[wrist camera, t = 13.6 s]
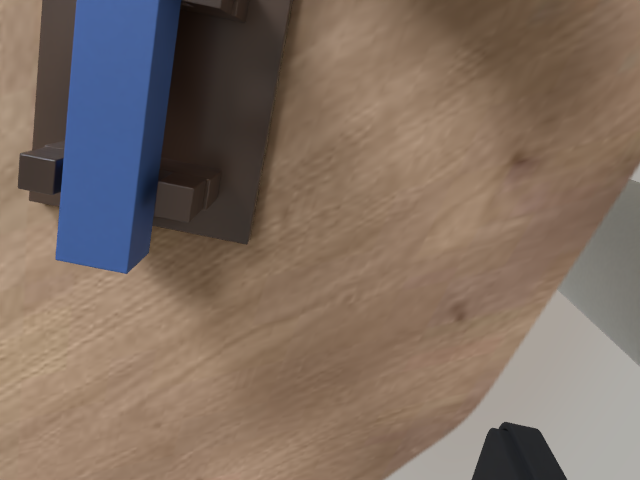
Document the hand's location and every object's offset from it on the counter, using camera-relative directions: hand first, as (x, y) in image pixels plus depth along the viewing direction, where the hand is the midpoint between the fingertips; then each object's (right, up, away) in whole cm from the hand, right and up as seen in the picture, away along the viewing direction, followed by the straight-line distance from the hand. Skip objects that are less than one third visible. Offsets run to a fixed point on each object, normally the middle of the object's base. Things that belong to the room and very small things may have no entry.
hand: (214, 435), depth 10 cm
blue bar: (-7, +11, +16) cm, 21 cm away
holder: (-6, +12, +20) cm, 24 cm away
